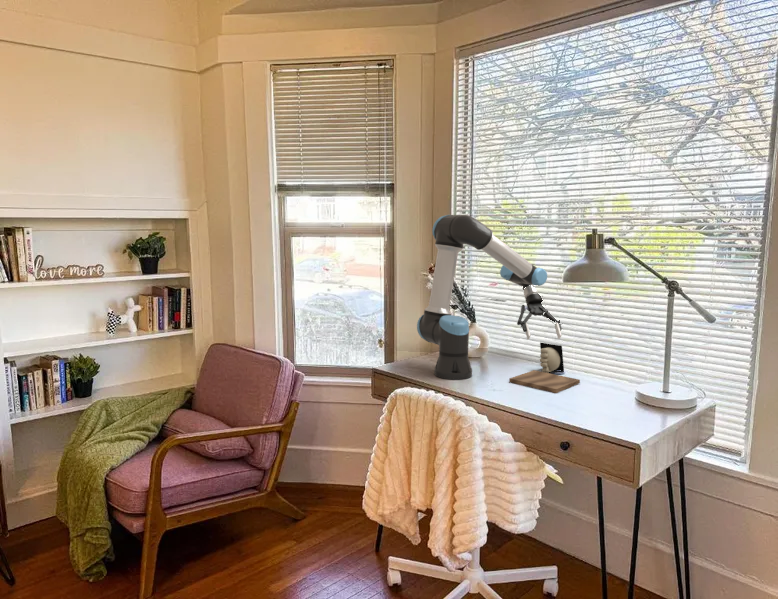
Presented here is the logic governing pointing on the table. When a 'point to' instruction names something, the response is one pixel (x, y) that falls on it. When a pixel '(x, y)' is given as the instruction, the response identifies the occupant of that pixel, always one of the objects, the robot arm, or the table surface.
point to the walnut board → (544, 381)
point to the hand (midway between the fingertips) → (544, 337)
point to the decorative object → (551, 357)
